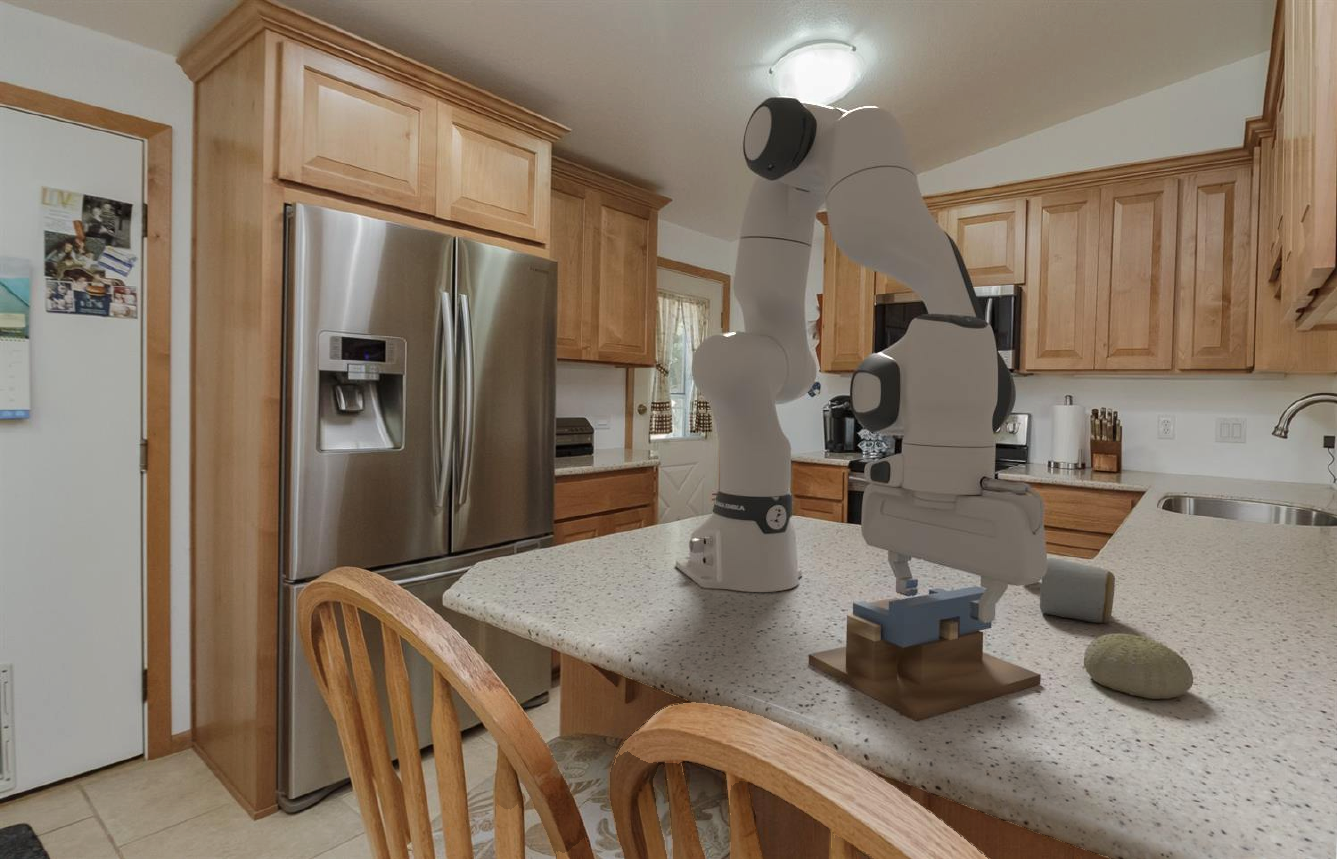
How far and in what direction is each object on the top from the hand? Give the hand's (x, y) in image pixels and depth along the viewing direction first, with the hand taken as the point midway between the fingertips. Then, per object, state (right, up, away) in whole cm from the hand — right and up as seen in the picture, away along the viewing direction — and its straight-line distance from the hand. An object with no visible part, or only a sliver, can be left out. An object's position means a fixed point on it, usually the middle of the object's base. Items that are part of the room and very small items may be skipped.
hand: (942, 606), depth 70 cm
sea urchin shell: (+20, -9, 0) cm, 22 cm away
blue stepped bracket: (-1, -3, +2) cm, 4 cm away
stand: (-1, -8, +3) cm, 8 cm away
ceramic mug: (+28, -8, +24) cm, 37 cm away
